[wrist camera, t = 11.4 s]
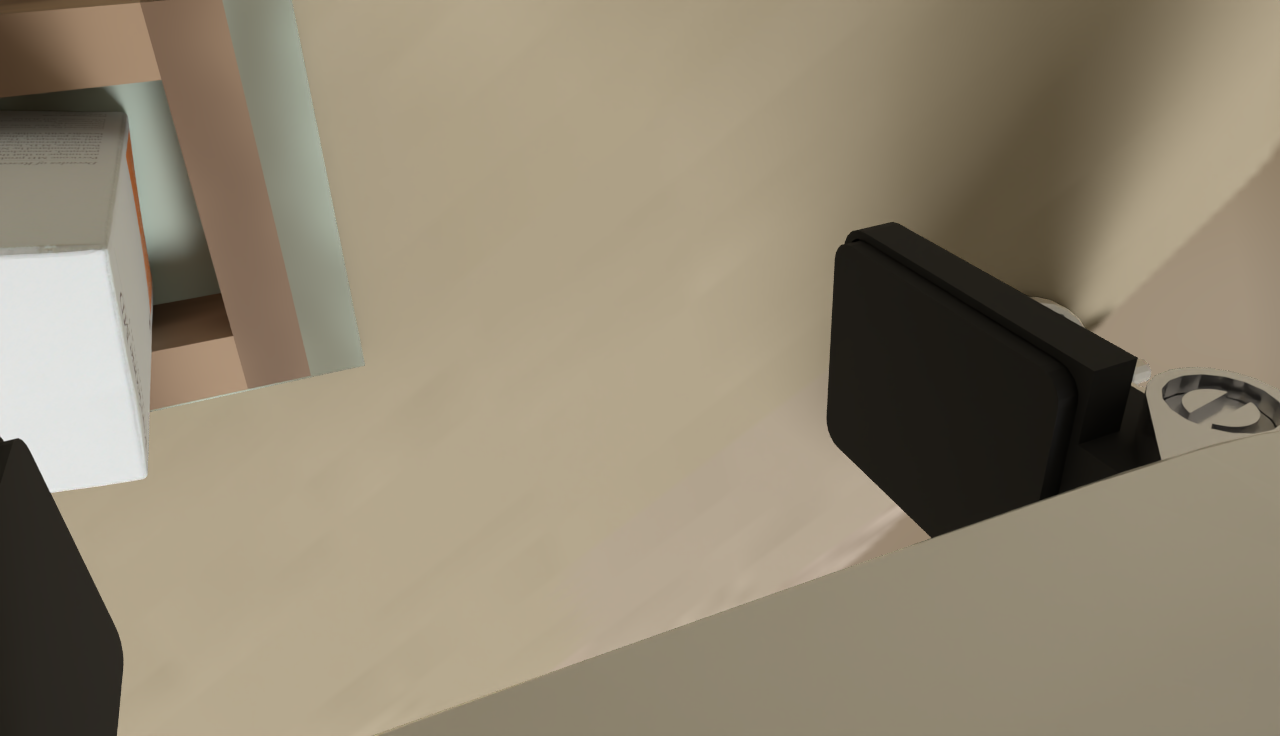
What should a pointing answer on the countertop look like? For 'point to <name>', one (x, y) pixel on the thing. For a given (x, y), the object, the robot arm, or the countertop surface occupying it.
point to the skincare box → (74, 298)
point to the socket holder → (206, 178)
